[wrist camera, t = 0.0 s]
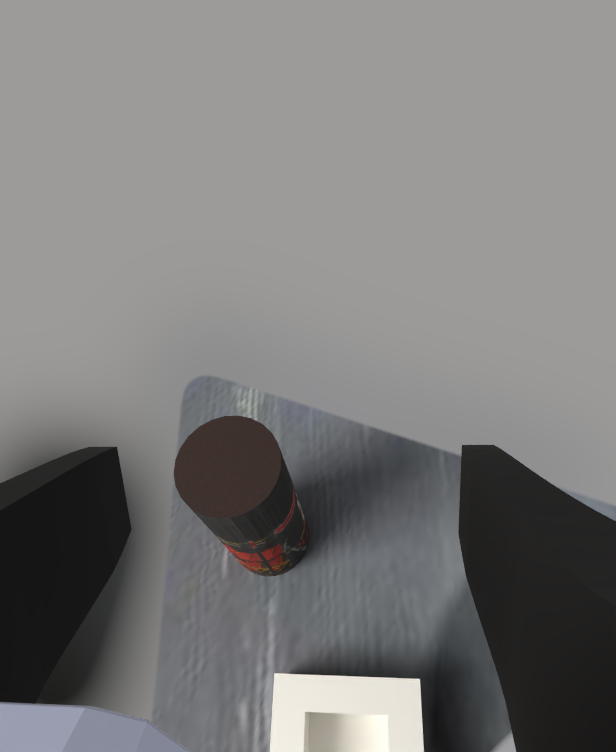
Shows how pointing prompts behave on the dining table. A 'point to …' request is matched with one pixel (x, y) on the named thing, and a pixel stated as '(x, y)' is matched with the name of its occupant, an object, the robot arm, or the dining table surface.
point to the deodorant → (243, 493)
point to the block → (346, 714)
